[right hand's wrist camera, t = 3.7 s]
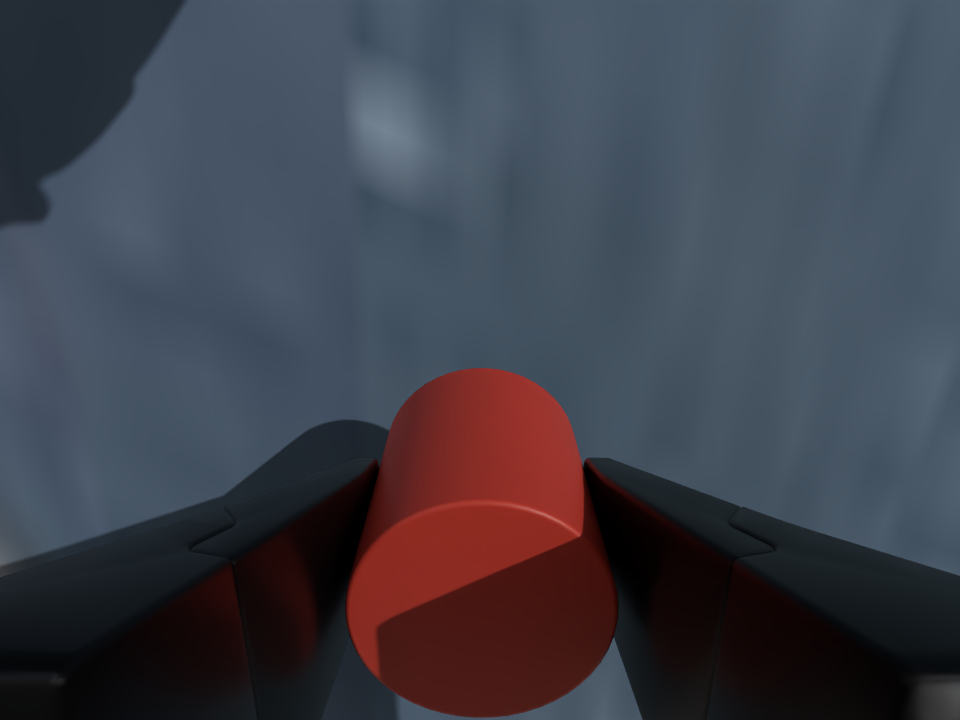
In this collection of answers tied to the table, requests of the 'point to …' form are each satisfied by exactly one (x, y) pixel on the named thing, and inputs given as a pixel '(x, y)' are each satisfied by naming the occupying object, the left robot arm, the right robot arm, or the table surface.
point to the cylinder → (481, 553)
